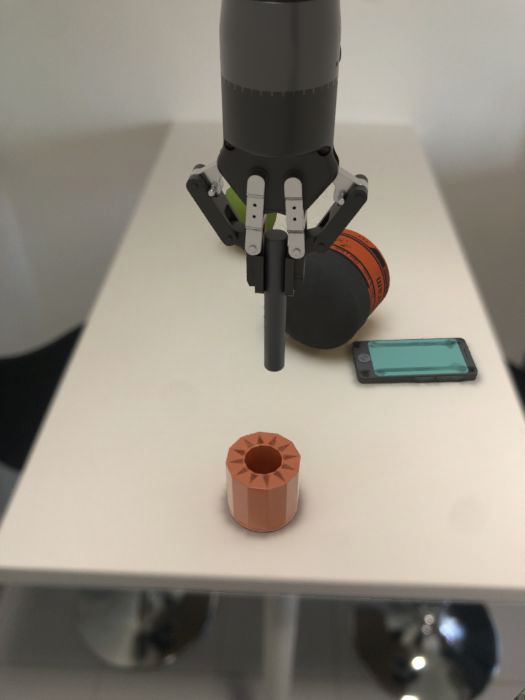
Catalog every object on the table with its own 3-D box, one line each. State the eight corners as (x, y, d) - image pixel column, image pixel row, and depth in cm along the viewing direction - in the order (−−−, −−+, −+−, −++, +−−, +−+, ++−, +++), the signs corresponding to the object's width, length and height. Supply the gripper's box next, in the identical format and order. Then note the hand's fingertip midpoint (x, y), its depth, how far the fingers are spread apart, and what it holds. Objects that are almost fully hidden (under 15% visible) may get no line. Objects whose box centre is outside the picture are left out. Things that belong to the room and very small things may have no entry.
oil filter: (385, 324, 94) (397, 243, 85) (343, 374, 86) (352, 290, 78) (304, 293, 99) (308, 215, 91) (258, 338, 91) (257, 256, 83)
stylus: (283, 376, 59) (286, 241, 50) (262, 374, 59) (262, 240, 50) (285, 362, 60) (289, 229, 52) (265, 361, 61) (265, 227, 52)
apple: (235, 265, 105) (232, 198, 97) (217, 239, 111) (213, 173, 103) (286, 254, 107) (288, 187, 100) (266, 228, 113) (266, 164, 106)
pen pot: (293, 536, 68) (296, 492, 63) (222, 527, 68) (220, 484, 64) (300, 479, 73) (303, 435, 69) (235, 472, 74) (233, 428, 69)
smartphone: (351, 339, 89) (464, 336, 90) (350, 346, 90) (462, 343, 91) (359, 377, 84) (480, 373, 84) (359, 385, 85) (478, 381, 85)
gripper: (159, 80, 41) (181, 310, 52) (389, 92, 39) (360, 325, 51) (186, 43, 46) (201, 257, 58) (388, 51, 45) (363, 269, 56)
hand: (275, 288), depth 54 cm, fingers closed on stylus, 2 cm apart
